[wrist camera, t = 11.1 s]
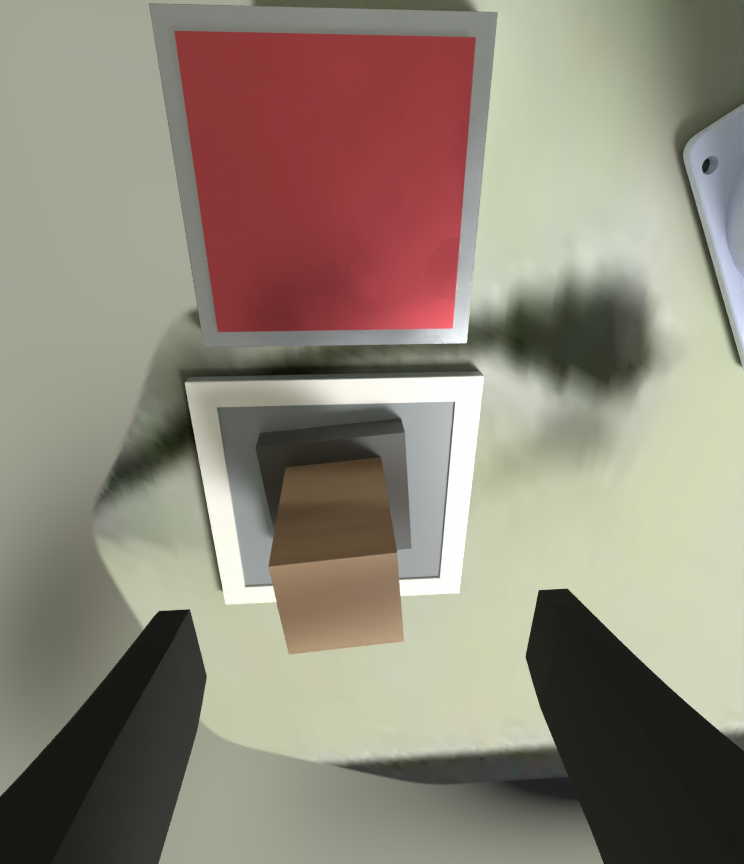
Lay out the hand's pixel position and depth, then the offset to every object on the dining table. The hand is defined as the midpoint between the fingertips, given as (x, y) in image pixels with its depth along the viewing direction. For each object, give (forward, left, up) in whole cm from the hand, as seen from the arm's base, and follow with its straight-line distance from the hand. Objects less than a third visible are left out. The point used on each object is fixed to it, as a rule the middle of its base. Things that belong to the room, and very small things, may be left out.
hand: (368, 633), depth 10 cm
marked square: (-3, +2, -10) cm, 11 cm away
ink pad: (+7, -4, -10) cm, 13 cm away
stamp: (-2, +2, -10) cm, 10 cm away
